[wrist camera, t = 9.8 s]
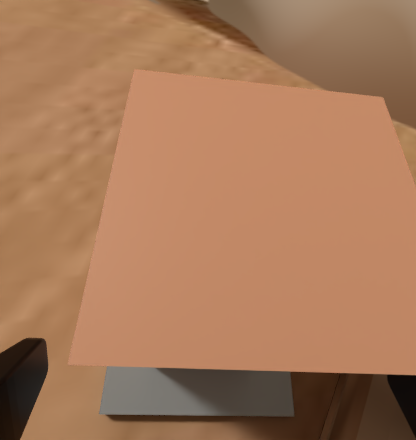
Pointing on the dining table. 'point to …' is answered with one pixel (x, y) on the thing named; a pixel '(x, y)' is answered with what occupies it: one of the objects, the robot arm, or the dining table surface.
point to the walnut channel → (365, 411)
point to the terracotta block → (253, 233)
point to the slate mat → (196, 392)
